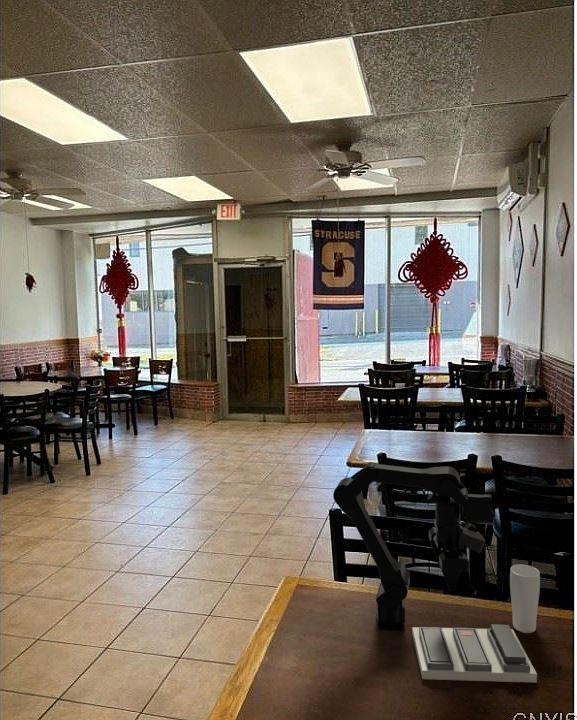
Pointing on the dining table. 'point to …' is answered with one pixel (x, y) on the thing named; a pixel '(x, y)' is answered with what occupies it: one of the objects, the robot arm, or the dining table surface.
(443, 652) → the button left
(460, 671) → the switch panel base
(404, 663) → the dining table surface
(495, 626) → the button right
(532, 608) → the drinking glass
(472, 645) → the button middle
